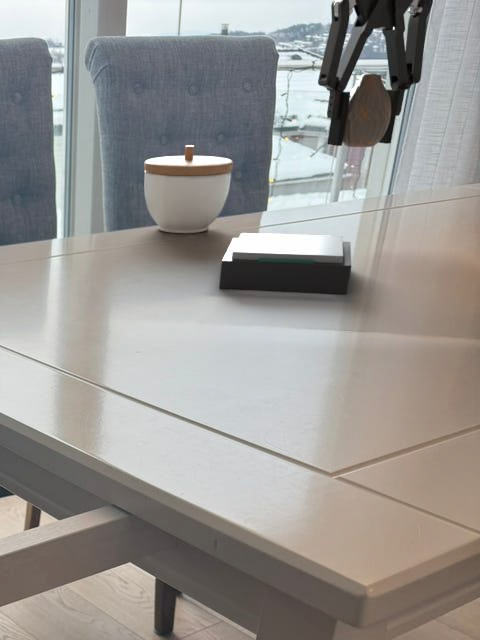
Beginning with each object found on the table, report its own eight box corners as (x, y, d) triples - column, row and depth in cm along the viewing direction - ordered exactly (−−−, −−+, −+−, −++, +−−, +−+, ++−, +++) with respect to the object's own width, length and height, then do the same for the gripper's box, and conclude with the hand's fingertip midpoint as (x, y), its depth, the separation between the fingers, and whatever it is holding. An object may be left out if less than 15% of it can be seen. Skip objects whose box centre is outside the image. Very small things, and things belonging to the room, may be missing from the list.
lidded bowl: (241, 227, 139) (251, 143, 133) (197, 240, 131) (205, 152, 125) (170, 218, 146) (176, 139, 140) (123, 230, 138) (128, 147, 132)
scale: (345, 267, 115) (351, 234, 113) (346, 294, 103) (353, 258, 101) (230, 263, 118) (233, 231, 116) (218, 288, 107) (222, 253, 105)
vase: (324, 146, 132) (335, 74, 128) (350, 143, 136) (361, 73, 132) (369, 149, 128) (382, 74, 123) (394, 145, 132) (407, 73, 127)
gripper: (442, -55, 125) (405, 139, 137) (307, -55, 121) (282, 144, 133) (478, -61, 118) (436, 143, 131) (337, -61, 115) (308, 149, 127)
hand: (358, 143), depth 132 cm, fingers closed on vase, 7 cm apart
